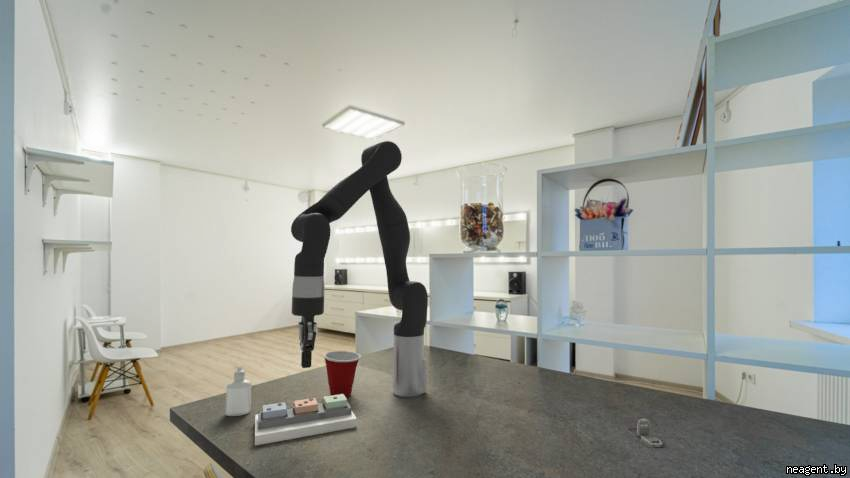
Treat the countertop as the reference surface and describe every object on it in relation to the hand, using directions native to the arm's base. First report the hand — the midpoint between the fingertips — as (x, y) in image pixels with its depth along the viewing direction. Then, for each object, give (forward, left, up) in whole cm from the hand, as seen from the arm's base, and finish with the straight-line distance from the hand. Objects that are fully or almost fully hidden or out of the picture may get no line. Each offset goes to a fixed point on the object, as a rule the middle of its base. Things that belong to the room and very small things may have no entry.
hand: (306, 366), depth 90 cm
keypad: (0, 0, -14) cm, 14 cm away
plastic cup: (-12, -16, -14) cm, 24 cm away
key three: (0, 0, -10) cm, 10 cm away
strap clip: (-69, +37, -14) cm, 80 cm away
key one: (-7, 0, -10) cm, 12 cm away
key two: (+7, 0, -10) cm, 12 cm away
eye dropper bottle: (+15, -14, -14) cm, 25 cm away
